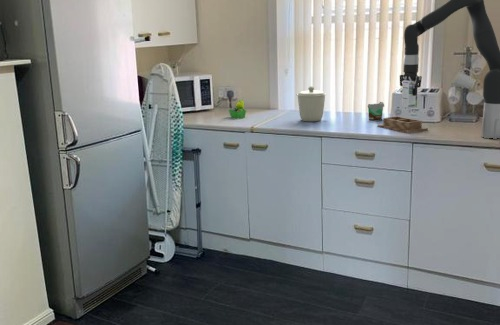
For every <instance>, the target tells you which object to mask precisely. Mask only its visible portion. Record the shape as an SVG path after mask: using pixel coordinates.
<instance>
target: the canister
mask: <svg viewBox="0 0 500 325" xmlns="http://www.w3.org/2000/svg"><path fill="white" fill-rule="evenodd" d="M307 89H308V90H302V91H300V92H298V93H297V94H296V96H297V103H298V112H299V116H300V120H301V121H304V122H319V121H321V120H322V119H323V117H324V116H323V115H324V109H325V99H326V96H327V93H326V92H324V91H323V90H315V87H314V86H309V87H308V88H307Z"/></svg>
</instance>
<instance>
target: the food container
mask: <svg viewBox="0 0 500 325" xmlns="http://www.w3.org/2000/svg"><path fill="white" fill-rule="evenodd" d="M384 107H385V103H384V102H383V101H379V102H378V103H368V104H367V108H368V121H382V118H383V112H384Z"/></svg>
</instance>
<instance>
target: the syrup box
mask: <svg viewBox="0 0 500 325" xmlns="http://www.w3.org/2000/svg"><path fill="white" fill-rule="evenodd" d="M415 82H416V81H413V83H415ZM402 84H403V85H402V86H401V87H402V88H401V89H402V90H401V92H402V95H401V107H402V108H404V109H411V108H414V109H415V108H417V107H418V94H417V95H416V96H413V95H412V94H413V87H412V85H411V81H410V80H404V81H402ZM414 85H415V84H414Z"/></svg>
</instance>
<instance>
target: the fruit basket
mask: <svg viewBox="0 0 500 325" xmlns="http://www.w3.org/2000/svg"><path fill="white" fill-rule="evenodd" d="M244 105H245V102H244V100H242V99H239V101H238V102H237V103H236V104H235V106H236V107H234V108H232V109H228V113H229V115H230V118H233V119H237V120H238V119H240V120H241V119H245V117H246V113H247V109H244V108H245V107H244Z"/></svg>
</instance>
